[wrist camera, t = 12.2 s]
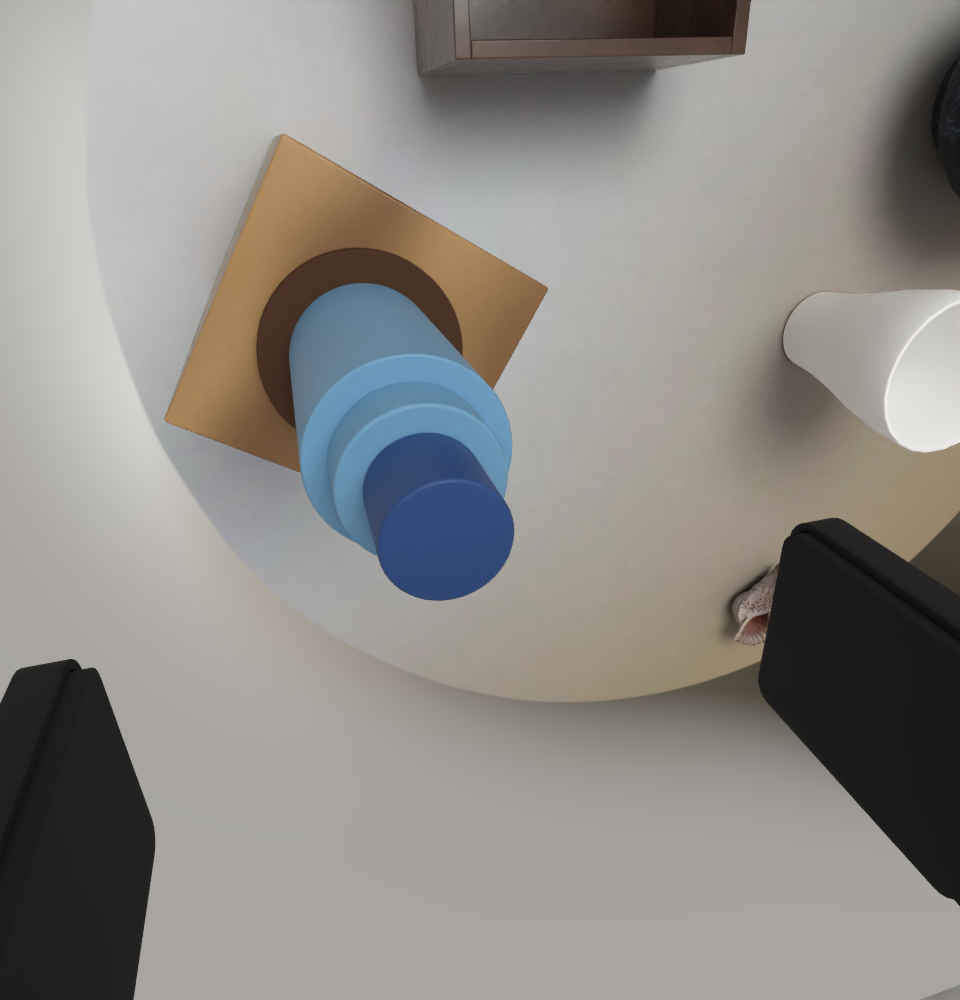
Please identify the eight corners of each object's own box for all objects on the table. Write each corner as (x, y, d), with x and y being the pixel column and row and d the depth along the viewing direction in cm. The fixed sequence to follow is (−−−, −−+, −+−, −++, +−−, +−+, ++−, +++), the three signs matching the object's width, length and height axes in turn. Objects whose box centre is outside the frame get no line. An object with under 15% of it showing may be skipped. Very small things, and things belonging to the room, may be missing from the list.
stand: (210, 291, 45) (163, 421, 24) (274, 136, 42) (281, 132, 21) (356, 359, 49) (422, 519, 28) (422, 222, 46) (549, 288, 26)
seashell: (726, 616, 71) (705, 612, 69) (786, 564, 68) (767, 557, 65) (753, 653, 68) (732, 650, 66) (817, 601, 65) (799, 595, 62)
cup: (773, 414, 60) (894, 480, 48) (743, 303, 55) (872, 347, 43) (880, 353, 60) (1028, 404, 49) (861, 236, 55) (1021, 261, 43)
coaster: (224, 400, 24) (223, 405, 24) (308, 205, 22) (309, 207, 22) (405, 474, 27) (408, 479, 27) (494, 307, 25) (498, 310, 25)
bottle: (265, 392, 24) (263, 613, 13) (327, 254, 23) (386, 366, 11) (397, 447, 26) (495, 678, 15) (461, 324, 25) (622, 476, 14)
